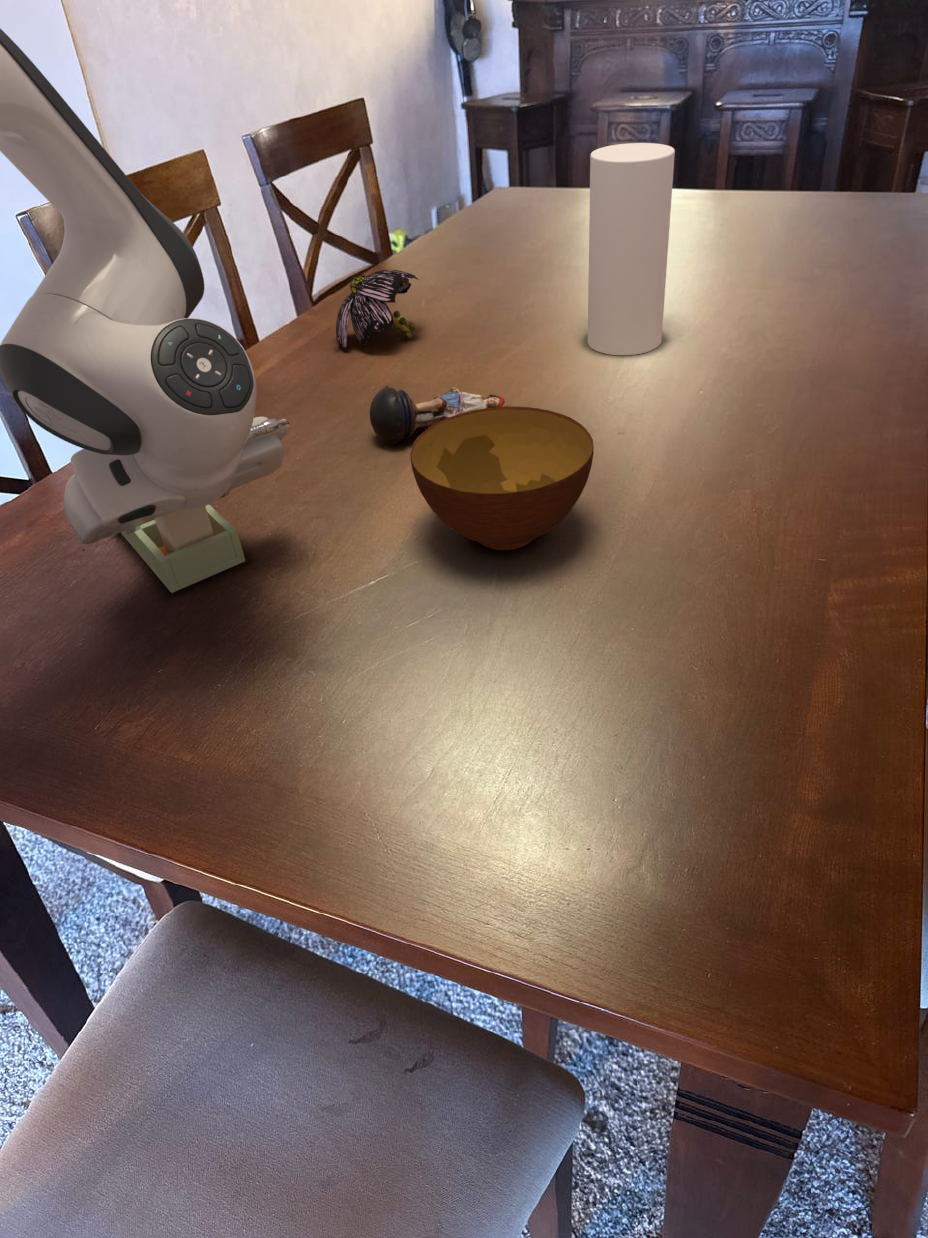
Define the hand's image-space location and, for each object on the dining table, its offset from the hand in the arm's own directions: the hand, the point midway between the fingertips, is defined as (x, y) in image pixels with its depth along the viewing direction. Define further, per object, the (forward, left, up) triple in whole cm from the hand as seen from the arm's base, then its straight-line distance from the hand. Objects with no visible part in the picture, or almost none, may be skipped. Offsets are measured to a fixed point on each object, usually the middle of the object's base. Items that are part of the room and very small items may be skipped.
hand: (174, 507), depth 86 cm
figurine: (+32, +18, -6) cm, 37 cm away
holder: (-1, +3, -6) cm, 7 cm away
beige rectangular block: (0, -1, -5) cm, 5 cm away
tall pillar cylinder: (+64, +34, -6) cm, 73 cm away
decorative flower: (+31, +51, -6) cm, 60 cm away
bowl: (+32, -8, -6) cm, 34 cm away
